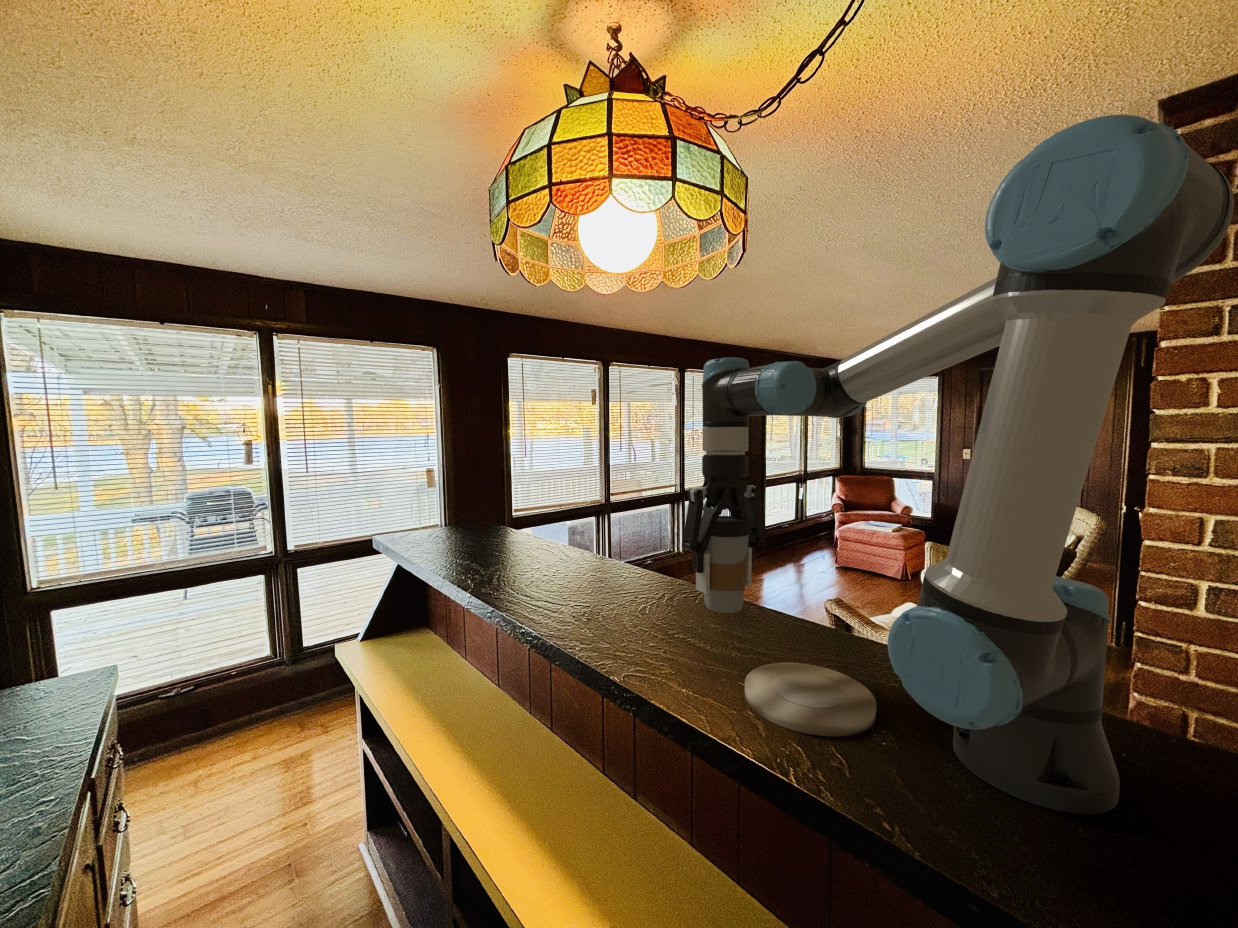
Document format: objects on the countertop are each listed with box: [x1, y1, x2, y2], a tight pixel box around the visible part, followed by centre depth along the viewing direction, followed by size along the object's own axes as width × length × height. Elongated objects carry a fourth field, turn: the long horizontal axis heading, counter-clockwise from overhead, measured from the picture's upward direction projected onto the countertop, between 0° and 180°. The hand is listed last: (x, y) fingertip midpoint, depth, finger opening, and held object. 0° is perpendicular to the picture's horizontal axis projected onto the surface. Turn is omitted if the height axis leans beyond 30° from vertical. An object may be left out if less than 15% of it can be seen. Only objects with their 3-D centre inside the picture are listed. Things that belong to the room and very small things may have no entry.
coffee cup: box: [703, 515, 750, 614], centre depth 87 cm, size 8×8×15 cm
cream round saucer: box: [744, 662, 877, 737], centre depth 76 cm, size 18×18×2 cm
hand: (724, 587), depth 87 cm, fingers closed on coffee cup, 8 cm apart
